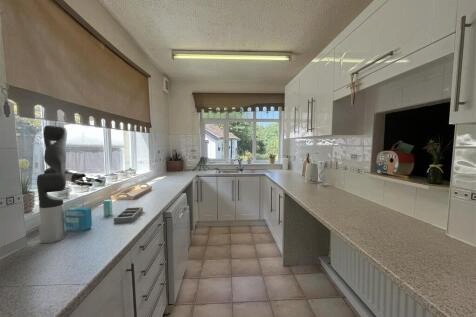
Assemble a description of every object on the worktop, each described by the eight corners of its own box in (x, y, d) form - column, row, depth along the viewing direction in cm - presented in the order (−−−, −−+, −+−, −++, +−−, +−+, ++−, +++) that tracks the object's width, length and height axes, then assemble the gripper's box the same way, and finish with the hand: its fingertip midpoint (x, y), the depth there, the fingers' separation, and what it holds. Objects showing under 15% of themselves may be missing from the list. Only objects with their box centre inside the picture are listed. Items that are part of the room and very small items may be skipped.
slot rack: (132, 222, 136) (132, 216, 135) (113, 223, 134) (113, 217, 134) (142, 211, 157) (142, 206, 157) (127, 212, 156) (126, 207, 156)
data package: (65, 230, 123) (64, 209, 122) (71, 227, 128) (70, 207, 127) (86, 230, 123) (85, 209, 122) (92, 227, 127) (91, 207, 127)
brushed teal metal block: (110, 215, 149) (109, 200, 149) (103, 215, 149) (103, 201, 148) (112, 214, 153) (111, 199, 152) (106, 214, 152) (105, 199, 151)
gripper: (66, 174, 142) (89, 180, 140) (84, 169, 156) (105, 175, 154) (65, 185, 143) (88, 191, 141) (83, 179, 157) (104, 185, 155)
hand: (97, 183), depth 148 cm, fingers open, 8 cm apart
